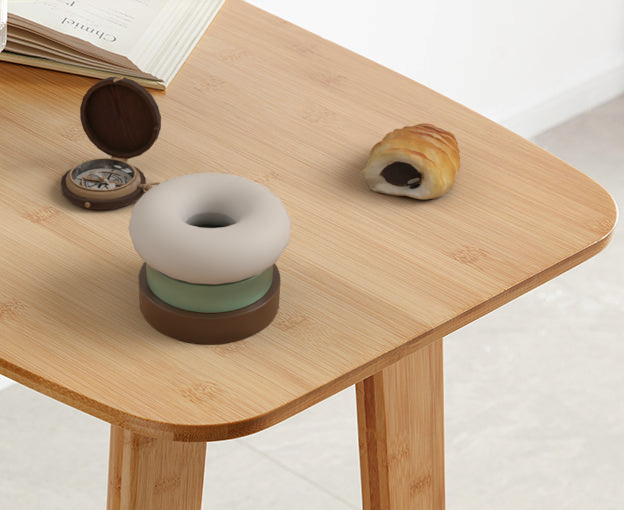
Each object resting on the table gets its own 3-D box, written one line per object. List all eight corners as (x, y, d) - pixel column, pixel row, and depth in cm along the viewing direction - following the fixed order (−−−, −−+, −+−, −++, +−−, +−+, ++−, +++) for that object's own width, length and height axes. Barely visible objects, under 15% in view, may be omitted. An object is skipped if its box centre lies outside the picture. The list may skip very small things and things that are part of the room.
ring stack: (135, 266, 76) (133, 215, 74) (268, 259, 78) (270, 208, 75) (144, 349, 69) (142, 295, 67) (290, 339, 71) (292, 286, 68)
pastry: (395, 138, 93) (400, 96, 91) (474, 157, 91) (481, 114, 89) (356, 190, 86) (361, 145, 84) (442, 212, 84) (449, 166, 82)
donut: (272, 308, 66) (303, 218, 74) (274, 259, 64) (306, 172, 72) (108, 283, 68) (156, 197, 75) (105, 235, 65) (154, 152, 73)
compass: (47, 205, 82) (39, 113, 77) (89, 155, 88) (83, 67, 84) (153, 223, 80) (150, 131, 76) (188, 171, 87) (187, 83, 82)
